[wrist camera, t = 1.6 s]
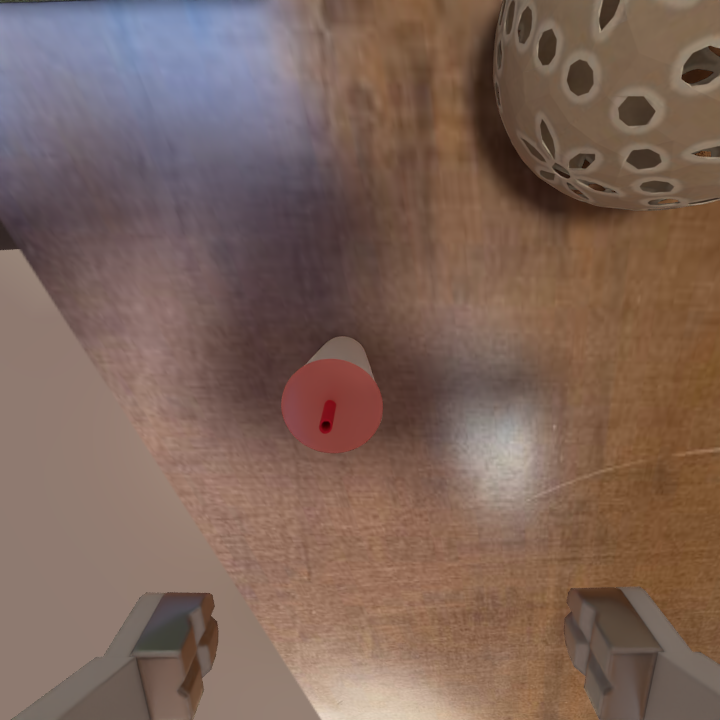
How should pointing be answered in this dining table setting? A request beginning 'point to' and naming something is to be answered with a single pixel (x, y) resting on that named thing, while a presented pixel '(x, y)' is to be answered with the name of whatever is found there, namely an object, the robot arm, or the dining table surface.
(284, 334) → the dining table surface
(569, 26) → the ornament
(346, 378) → the cup
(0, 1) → the sage green box
